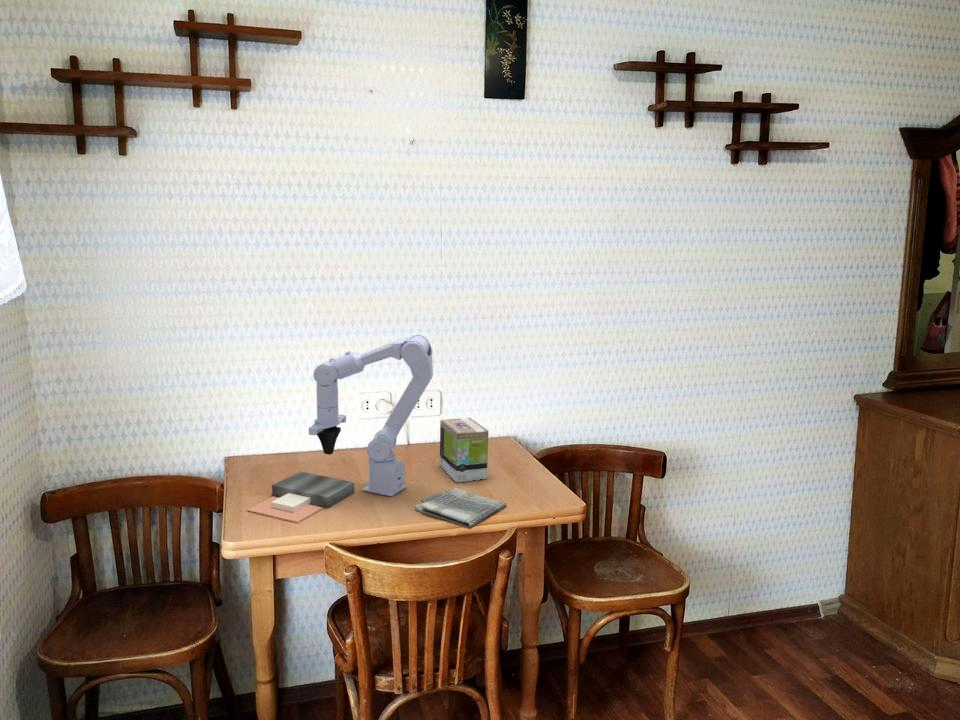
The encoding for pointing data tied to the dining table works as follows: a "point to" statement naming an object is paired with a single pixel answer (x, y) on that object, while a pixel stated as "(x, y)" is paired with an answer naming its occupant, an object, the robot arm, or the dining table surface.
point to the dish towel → (460, 507)
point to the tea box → (463, 449)
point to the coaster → (291, 502)
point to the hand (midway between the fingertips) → (328, 453)
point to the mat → (281, 514)
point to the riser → (314, 488)
